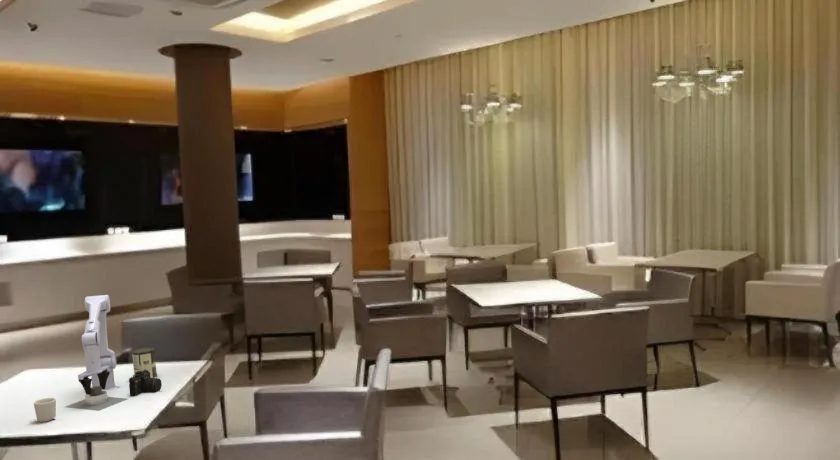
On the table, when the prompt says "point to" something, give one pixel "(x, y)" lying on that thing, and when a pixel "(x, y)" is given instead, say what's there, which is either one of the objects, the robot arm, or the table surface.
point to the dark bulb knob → (96, 390)
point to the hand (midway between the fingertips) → (95, 391)
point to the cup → (45, 409)
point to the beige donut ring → (96, 399)
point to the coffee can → (144, 360)
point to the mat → (109, 403)
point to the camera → (143, 383)
